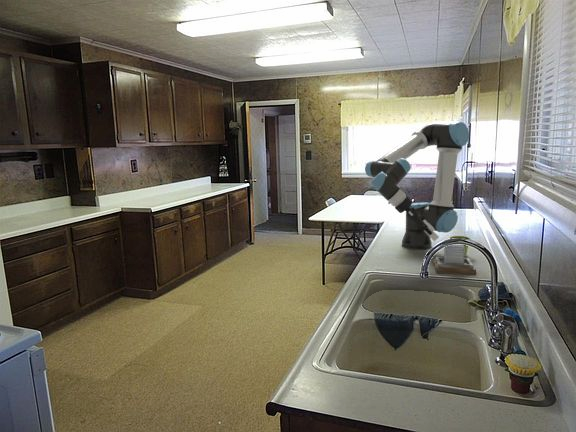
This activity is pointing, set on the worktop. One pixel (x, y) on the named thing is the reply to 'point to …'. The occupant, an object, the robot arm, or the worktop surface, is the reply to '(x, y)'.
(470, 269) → the walnut stand
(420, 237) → the robot arm
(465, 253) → the plant pot
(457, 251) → the medicine box
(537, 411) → the worktop surface
